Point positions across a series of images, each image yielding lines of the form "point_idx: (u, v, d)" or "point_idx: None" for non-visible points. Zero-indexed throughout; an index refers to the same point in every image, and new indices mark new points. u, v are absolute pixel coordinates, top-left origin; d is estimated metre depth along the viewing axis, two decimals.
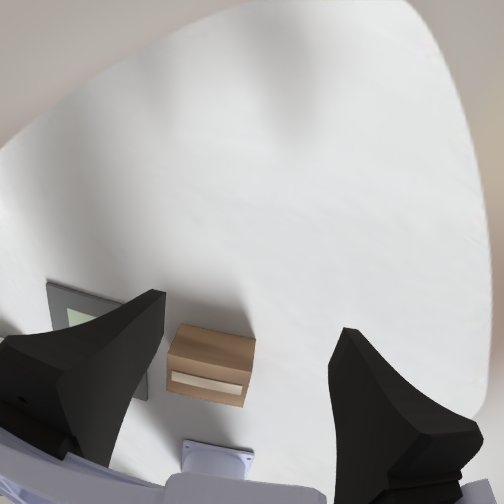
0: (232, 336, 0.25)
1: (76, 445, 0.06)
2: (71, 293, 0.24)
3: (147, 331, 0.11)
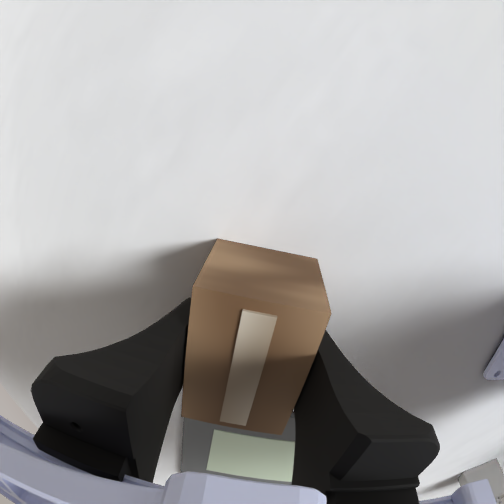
0: None
1: (132, 466, 0.06)
2: (182, 459, 0.18)
3: None
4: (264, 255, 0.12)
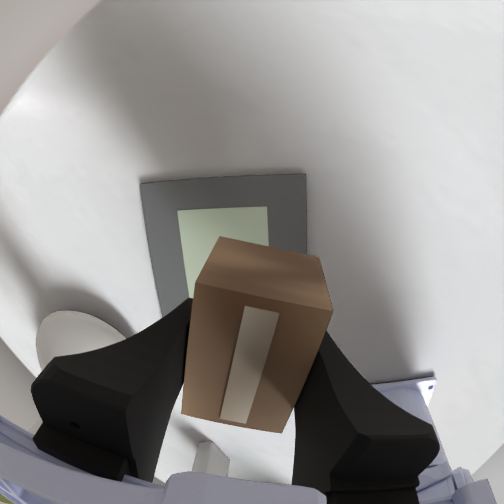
0: None
1: (132, 466, 0.06)
2: (185, 181, 0.19)
3: None
4: (266, 252, 0.12)
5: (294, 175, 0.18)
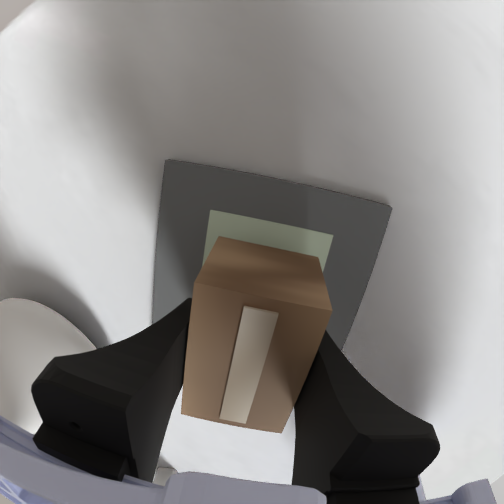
0: None
1: (132, 466, 0.06)
2: (233, 173, 0.13)
3: None
4: (265, 252, 0.12)
5: (378, 204, 0.13)
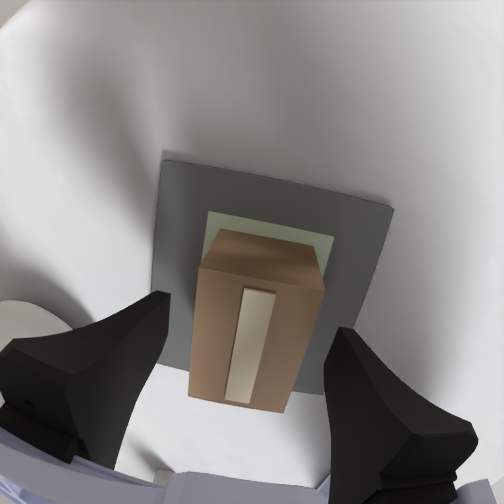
0: None
1: (83, 448, 0.06)
2: (231, 174, 0.13)
3: (152, 332, 0.11)
4: (264, 241, 0.13)
5: (380, 206, 0.13)
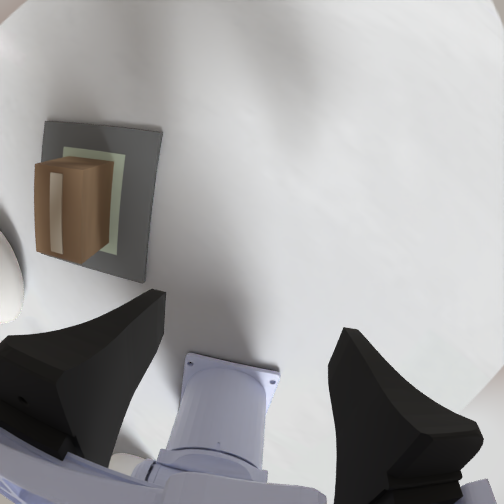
0: None
1: (76, 445, 0.06)
2: (73, 124, 0.19)
3: (147, 331, 0.11)
4: (84, 159, 0.19)
5: (151, 132, 0.19)
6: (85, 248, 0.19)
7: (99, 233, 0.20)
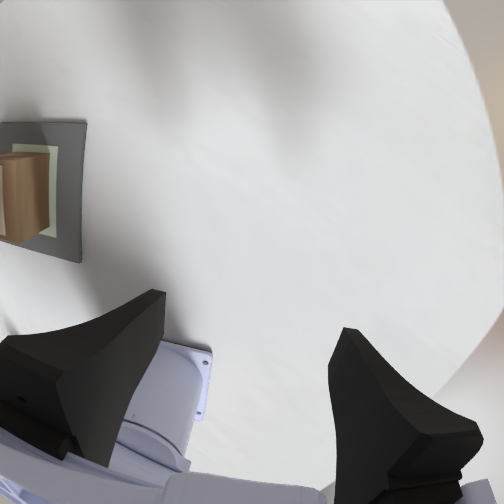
0: None
1: (76, 445, 0.06)
2: (19, 123, 0.19)
3: (147, 331, 0.11)
4: (26, 153, 0.20)
5: (77, 124, 0.20)
6: (23, 229, 0.19)
7: (37, 217, 0.21)
